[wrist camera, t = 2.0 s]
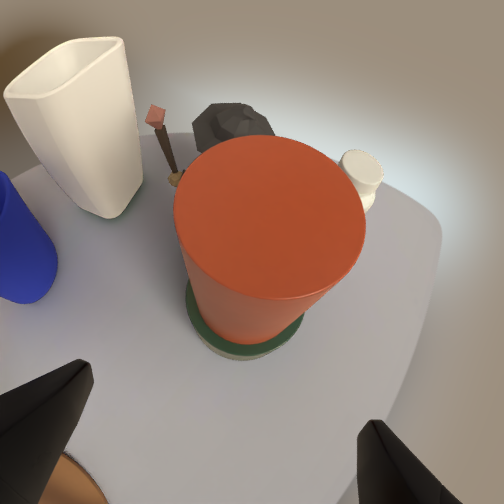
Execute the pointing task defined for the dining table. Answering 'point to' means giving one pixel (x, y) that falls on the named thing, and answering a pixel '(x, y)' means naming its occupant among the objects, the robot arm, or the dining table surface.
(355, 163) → the pill bottle
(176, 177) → the wizard figurine
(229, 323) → the top tin
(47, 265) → the mug
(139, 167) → the cup
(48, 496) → the cork mat
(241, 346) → the tin
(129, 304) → the dining table surface
